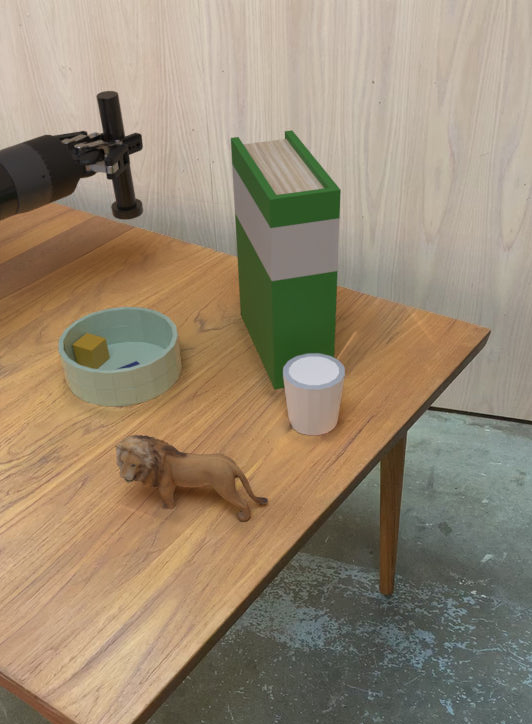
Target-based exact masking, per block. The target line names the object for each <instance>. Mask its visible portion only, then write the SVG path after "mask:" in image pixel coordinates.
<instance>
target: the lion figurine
mask: <svg viewBox="0 0 532 724" xmlns="http://www.w3.org/2000/svg"><path fill="white" fill-rule="evenodd" d="M114 447H115V450H116V452H115V454H116V466H117V467H118V468H119V470H120V471H119V477H120V478H121V479H124V481H125V483H127V484H132V483H133V482H136V483H139V482H140V483H142V485H143V486H144V487H147V488H154V489H156V488H157V489H158V491H159V494H160V496H161V498H162V500H163V502H164V504H163V505H162V506H161V509H162V510H173V509H174V507H176V502H175V499H174V492H175V490H176V487H178V486H179V487H183V488H199V487H204V486H206V485H208V484H210V485H212V486H213V487H214V489H215V491H216V492H217V493H218V495H219V496H220V497H222V499H224V500H225V501H226V502H228V503H229V504H231V505H233V506H235V507H237V508H238V509H239V511H238V512H237V513H236V517H237V519H238V520H239V521H240V522H245V521H248V520H249V518H250V517H251V509H250V505H249V502H248V500H246V499H244V498H243V497H242V496H241V495H240V493H239V492H238V490H237V487H236V479H239V481H240V482H241V484H242V486H243V488H244V490H245V491H246V493H247V495H248V496H249V498H250V499H251V500H252V501H254V502H256V504H260V505H264V504H268V502H269V499H268V498H267V497H263V496H262V497H261V496H256V495H255V494H254V491H253V490H252V488H251V487H252V486H251V485H250V483H249V480H248V478H247V476H246V474H245V473H244V472H243V470H242V468H241V467H239V466H238V464H237V463H236V461H235V460H234V459H233V458H231V457H230V456H228V455H226V454H223V453H206V454H205V453H204V454H201V453H191V452H183V451H179V450H178V449H177V448H176V447H175V446H173V445H172V444H169V442H166V441H165V440H162V439H159V438H156V437H154V436H148V435H142V434H133V435H129V436H128V435H127V436H125V437H124V438H123V439H121V441H120V442H119V443H118V444H115V445H114Z"/></svg>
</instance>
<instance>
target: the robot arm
mask: <svg viewBox="0 0 532 724" xmlns="http://www.w3.org/2000/svg"><path fill="white" fill-rule="evenodd" d="M143 143H144V142H143V135H142V134H141V133H139V132H134V133H131V134H128V135H125V137H123V138H120V139H116V140H113V141H110V142H105V140H104V135H103V132H101V133H100V132H92V133H89V134H88V131H86V130H80V131H75V132H68V133H61V134H55V135H53V134H43V135H39V136H37V137H34V138H31V139H29V140H25V141H22V142H19V143H17V144H14V145H10V146H8V147H5V148H2V149H0V222H1V221H4V220H6V219H8V218H9V219H10V218H11V217H14V216H16V215H20V214H25V213H26V214H27V213H29V212H32V211H35V210H37V209H40V208H42V207H44V206H47V205H50V204H52V203H54V202H57V201H59V200H61V199H64V198H67V197H69V196H71V195H72V194H73V193H74V192H76V189H77V187H78V184H79V182H80V180H81V179H87V178H91V177H93V176H95V175H96V174H98V173H103V174H106V179H107V180H110V181H112V180H113V179H116V178H117V177H118V176H119V175H120V174H121V173H122V172H123V171H124V170H125V169H126V168H127V167H128V166H129V165H130V166H131V159H130V158H131V157H130V155H131V156H132V155H133V154H136V153H138V152H141V151H142V150H143V148H144V145H143ZM112 148H114V150H113V151H112V152H111V153H109V150H110V149H112Z"/></svg>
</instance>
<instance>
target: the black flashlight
mask: <svg viewBox="0 0 532 724" xmlns="http://www.w3.org/2000/svg"><path fill="white" fill-rule="evenodd" d="M95 97H96V101H97V108H98V113H99V117H100V123H101V128H102V133H103V135H104V140H105V142H110V141H113V140H116V139H120V138H123V137H125V136H126V132H125V125H124V121H123V115H122V113H123V112H122V107H121V103H120V101H121V100H120V96H119V93H118V92H117V91H115V90H105V91H100V92H99V93H97V94H96V96H95ZM113 150H114V148H112V149H110V150H109V153H111V152H112V151H113ZM131 167H132V166H131V164H130V165H129V166H128V167H127V168H126V169H125V170H124V171H123V172H122V173H121V174H120V175H119V176H118V177H117V178H116V179H113V180H111V183H112V189H113V193H114V197H115V198H114V199H115V201H113V203H111V206H110V209H111V213H112V214H111V215H112V216H113V218H115V219H118V220H124V221H125V220H133V219H137V218H138V217H141V215H143V213H144V206H143V202H142V200H141V199H139V198H136V197H137V196H136V192H135V186H134V179H133V174H132V168H131Z"/></svg>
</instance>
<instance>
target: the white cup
mask: <svg viewBox="0 0 532 724" xmlns="http://www.w3.org/2000/svg"><path fill="white" fill-rule="evenodd" d="M345 378H346V368H345V366H344V364H343V363H342V362H341V361H340V360H339V359H337V358H336V357H335V356H334V357H332V356H329V355H324V354H320V353H308V354H303V355H299V356H296V357H294V358H292V359H291V360H289V361H288V362H287V363H286V364H285V366H284V367H283V379H284V386H285V388H284V393H285V403H286V409H287V418H288V421H289V422H290V427H291V429H293V430H294V431H296V432H297V433H299V434H302V435H306V436H321V435H325V434H328V433H329V432H331V431H333V430H334V429H335V428H336V426H337V425H338V422H339V414H340V409H341V403H342V395H343V390H344V383H345Z"/></svg>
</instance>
